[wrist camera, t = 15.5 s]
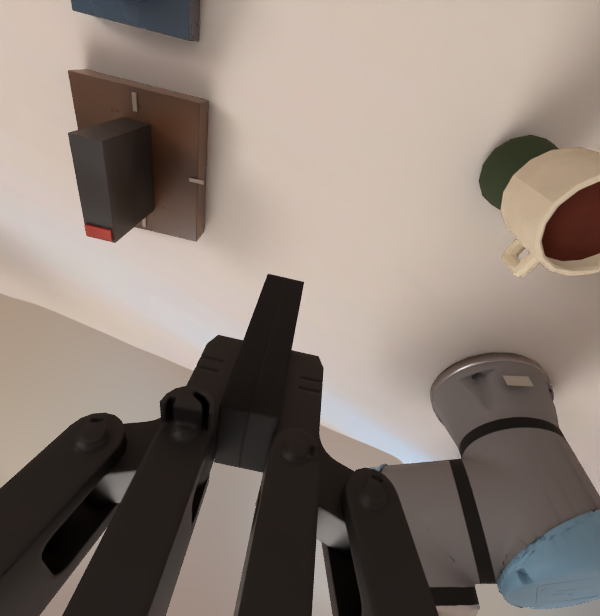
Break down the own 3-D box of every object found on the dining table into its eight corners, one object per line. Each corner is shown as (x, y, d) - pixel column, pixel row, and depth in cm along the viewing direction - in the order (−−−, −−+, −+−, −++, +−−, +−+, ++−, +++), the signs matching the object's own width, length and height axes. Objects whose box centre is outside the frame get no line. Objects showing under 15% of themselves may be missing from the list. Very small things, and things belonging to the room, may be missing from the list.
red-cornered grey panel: (123, 116, 30) (65, 133, 23) (150, 123, 30) (100, 142, 23) (131, 204, 34) (84, 237, 28) (154, 210, 34) (113, 244, 28)
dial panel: (209, 233, 38) (201, 243, 36) (100, 207, 38) (86, 216, 36) (215, 101, 30) (206, 105, 28) (78, 67, 30) (58, 68, 28)
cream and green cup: (500, 235, 35) (566, 311, 25) (442, 205, 34) (487, 272, 24) (596, 129, 29) (739, 171, 18) (530, 88, 28) (644, 108, 17)
